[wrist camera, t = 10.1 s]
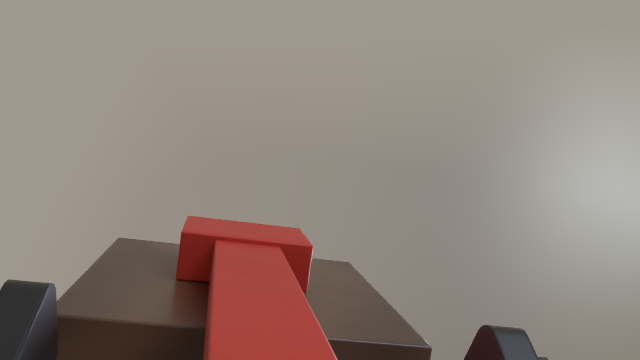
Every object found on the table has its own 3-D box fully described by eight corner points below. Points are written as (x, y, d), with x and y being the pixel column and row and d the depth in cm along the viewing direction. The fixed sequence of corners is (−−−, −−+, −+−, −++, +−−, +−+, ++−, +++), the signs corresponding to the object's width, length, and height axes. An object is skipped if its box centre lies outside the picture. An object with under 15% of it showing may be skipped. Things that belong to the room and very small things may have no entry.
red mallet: (107, 495, 9) (123, 374, 9) (182, 257, 26) (187, 215, 25) (421, 507, 10) (438, 396, 10) (294, 269, 26) (300, 228, 26)
